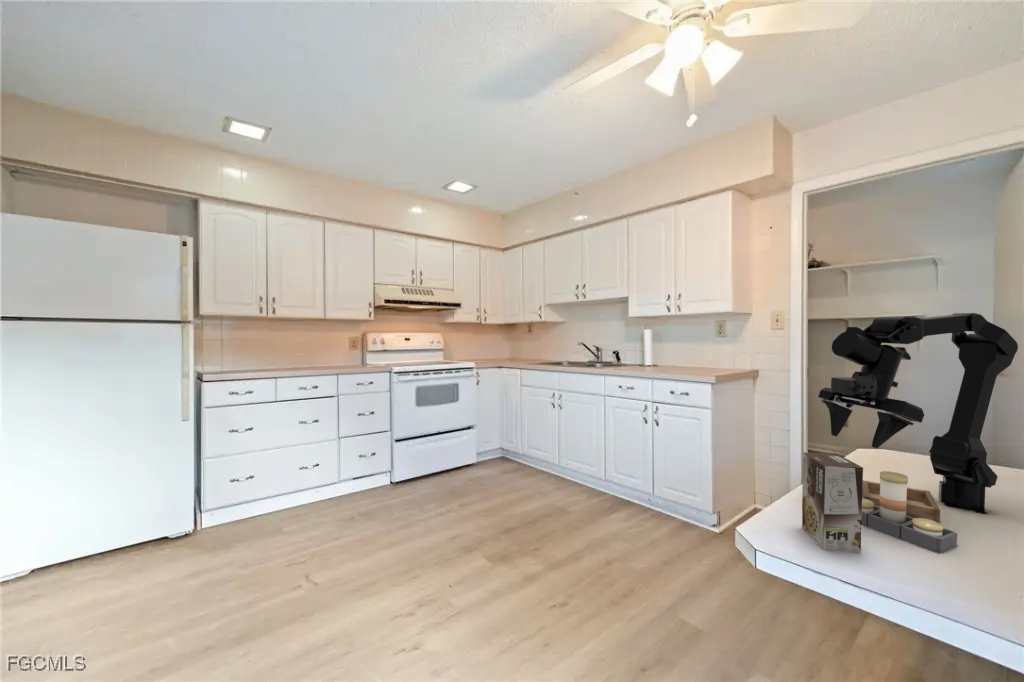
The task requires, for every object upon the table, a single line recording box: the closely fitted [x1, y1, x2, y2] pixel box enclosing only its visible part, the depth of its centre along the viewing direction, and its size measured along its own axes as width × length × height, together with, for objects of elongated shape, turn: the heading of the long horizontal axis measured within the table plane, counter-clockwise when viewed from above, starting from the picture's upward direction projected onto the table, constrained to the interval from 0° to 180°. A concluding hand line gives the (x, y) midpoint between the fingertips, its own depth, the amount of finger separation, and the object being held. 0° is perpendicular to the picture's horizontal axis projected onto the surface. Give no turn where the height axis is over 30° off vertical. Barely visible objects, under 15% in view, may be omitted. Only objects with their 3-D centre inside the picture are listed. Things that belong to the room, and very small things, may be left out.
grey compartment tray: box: [861, 505, 959, 555], centre depth 87 cm, size 17×7×3 cm, turn 24°
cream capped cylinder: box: [879, 470, 909, 524], centre depth 87 cm, size 4×4×11 cm
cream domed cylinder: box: [862, 498, 874, 513], centre depth 92 cm, size 4×4×4 cm
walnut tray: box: [862, 479, 941, 524], centre depth 97 cm, size 12×12×4 cm
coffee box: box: [801, 452, 864, 554], centre depth 83 cm, size 9×6×16 cm
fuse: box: [912, 518, 944, 538], centre depth 82 cm, size 4×4×4 cm
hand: (853, 441), depth 93 cm, fingers open, 9 cm apart
